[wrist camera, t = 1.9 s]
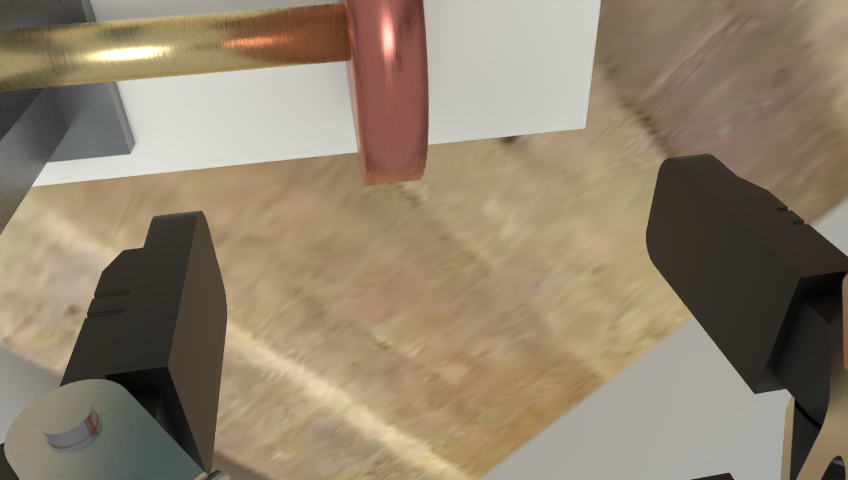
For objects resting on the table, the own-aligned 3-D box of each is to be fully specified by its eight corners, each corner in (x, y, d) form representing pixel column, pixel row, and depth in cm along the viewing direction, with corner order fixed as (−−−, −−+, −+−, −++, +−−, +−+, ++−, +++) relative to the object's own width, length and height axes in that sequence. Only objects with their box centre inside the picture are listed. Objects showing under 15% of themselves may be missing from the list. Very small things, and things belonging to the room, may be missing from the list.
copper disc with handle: (374, -162, 22) (422, -133, 14) (391, 109, 28) (432, 238, 20) (-195, -135, 20) (-518, -83, 12) (-51, 152, 26) (-204, 316, 18)
